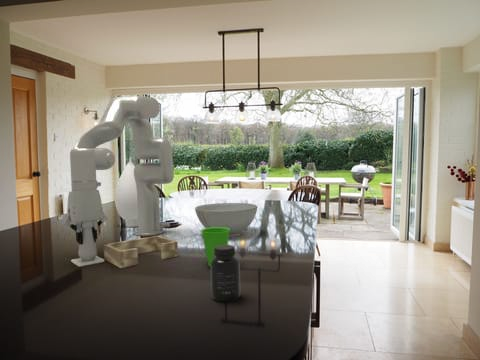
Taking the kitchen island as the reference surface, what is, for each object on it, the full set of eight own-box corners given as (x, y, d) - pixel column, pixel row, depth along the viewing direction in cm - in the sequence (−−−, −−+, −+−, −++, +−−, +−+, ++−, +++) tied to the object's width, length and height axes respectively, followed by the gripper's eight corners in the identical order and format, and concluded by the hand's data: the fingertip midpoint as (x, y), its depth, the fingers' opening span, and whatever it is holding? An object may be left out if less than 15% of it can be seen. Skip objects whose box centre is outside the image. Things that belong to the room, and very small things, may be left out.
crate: (158, 249, 138) (158, 235, 137) (178, 256, 127) (177, 241, 126) (104, 259, 125) (103, 244, 125) (120, 268, 114) (119, 251, 114)
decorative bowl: (184, 239, 154) (183, 209, 153) (212, 227, 179) (212, 202, 178) (244, 243, 144) (243, 211, 143) (266, 230, 169) (265, 203, 168)
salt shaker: (90, 262, 119) (89, 221, 118) (74, 261, 120) (73, 221, 120) (100, 257, 125) (99, 218, 124) (85, 256, 126) (84, 218, 125)
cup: (235, 262, 118) (234, 227, 117) (224, 270, 109) (223, 233, 108) (209, 260, 121) (208, 226, 120) (196, 268, 112) (195, 231, 111)
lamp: (139, 221, 200) (136, 156, 198) (154, 225, 188) (152, 155, 186) (110, 226, 189) (107, 156, 187) (124, 229, 178) (121, 155, 176)
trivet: (95, 257, 128) (95, 255, 128) (104, 261, 122) (104, 259, 122) (71, 261, 123) (71, 259, 123) (78, 266, 117) (78, 264, 117)
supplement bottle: (211, 292, 91) (209, 244, 91) (239, 291, 92) (238, 242, 91) (211, 303, 84) (210, 251, 84) (241, 301, 85) (240, 249, 84)
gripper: (105, 184, 129) (108, 237, 130) (53, 187, 119) (56, 245, 120) (113, 185, 123) (116, 240, 125) (59, 189, 113) (63, 249, 114)
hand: (87, 242), depth 122 cm, fingers open, 3 cm apart
